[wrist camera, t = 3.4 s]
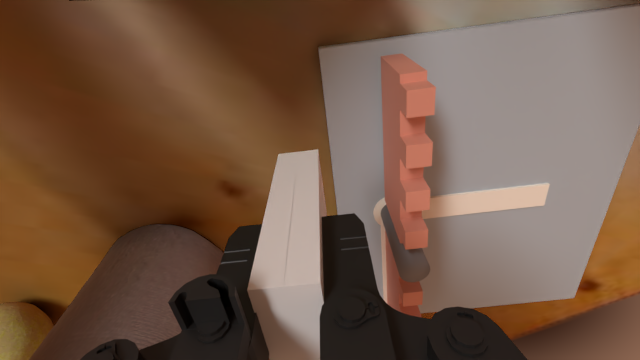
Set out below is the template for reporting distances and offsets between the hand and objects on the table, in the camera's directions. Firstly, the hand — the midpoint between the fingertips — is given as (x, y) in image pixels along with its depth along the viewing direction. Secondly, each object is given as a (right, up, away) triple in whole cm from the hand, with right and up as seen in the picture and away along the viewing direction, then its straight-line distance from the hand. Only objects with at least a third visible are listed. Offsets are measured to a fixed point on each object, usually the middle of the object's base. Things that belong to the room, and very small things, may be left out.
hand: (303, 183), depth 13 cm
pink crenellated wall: (+5, +3, +8) cm, 10 cm away
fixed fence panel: (+7, -6, +14) cm, 17 cm away
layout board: (+12, -1, +12) cm, 17 cm away
